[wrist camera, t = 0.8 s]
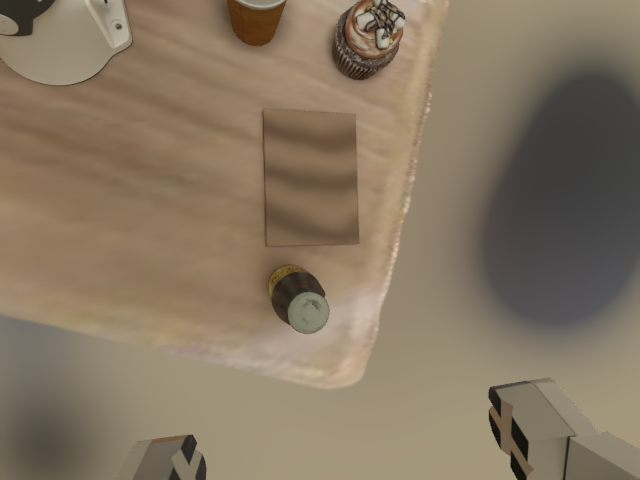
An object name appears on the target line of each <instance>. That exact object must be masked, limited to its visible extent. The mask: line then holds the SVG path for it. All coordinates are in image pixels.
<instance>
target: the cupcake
mask: <svg viewBox="0 0 640 480" xmlns="http://www.w3.org/2000/svg"><path fill="white" fill-rule="evenodd" d="M396 10H397V11H396ZM404 25H405V16H404V14H403V12H402V11H400V10H399V9H398V8H397V7H396V6H395V5H393V4H391V3H389V2H388V0H361V1H359V2H357V3H356V4H355V5H354V6H353V7H351V8H350V9H349V10H347V11H346V12H344V13H343V14H342V15H341V16H340V20H339V19H338V24H336V33H335V41H334V47H333V59H334V61H335V64H336V66H337V67H338V69H339V70H340V72H341V73H343V74H344V75H345V76H348V77H350V78H352V79H354V80H363V79H366V78H369V77H370V76H372V75H374V74H375V73H376V72H377V71H379V70H381V69H383V68H384V67H386V66H387V65H388V64H389V63H390V61H392V60H393V58H394V57H395V55H396V53H397V51H398V49H399V42H400V40H401V38H402V36H403V26H404ZM370 69H371V70H370Z"/></svg>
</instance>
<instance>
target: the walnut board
mask: <svg viewBox="0 0 640 480" xmlns="http://www.w3.org/2000/svg"><path fill="white" fill-rule="evenodd" d="M263 131H264V171H265V212H266V246H294V245H331V244H359V227H358V189H357V152H356V115H355V114H346V113H330V112H314V111H297V110H281V109H265V108H264V109H263Z"/></svg>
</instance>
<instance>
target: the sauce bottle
mask: <svg viewBox="0 0 640 480" xmlns="http://www.w3.org/2000/svg"><path fill="white" fill-rule="evenodd" d="M269 293H270V298H271V302H272V305H273V308H274V310H275V312H276V313H277V315H278V316H279V318H280V319H281V320H283V321H284V322H285V323H287V324H289V325H291V326H292V327H293V328H294V329H295V330H296V331H298V332H300V333H304V334H311V333H315V332H317V331H319V330H321V329H322V328H323V327H324V326H325V324H326V322H327V320H328V317H329V306H328V303H327V301H326V300H325V298H324V297H325V292H324V290H323V288H322V287H321V285H320V284H319V282H318V280H317V279H316V278H315V277H314V276H313V275H311V274H310V273H308V272H307V271H305V270H304V269H302V268H300V267H298V266H294V265H287V266H283V267H281V268H279V269H277V270H276V271H275V272H274V273H273V275H272V276H271V278H270V281H269Z"/></svg>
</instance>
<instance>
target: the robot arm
mask: <svg viewBox="0 0 640 480" xmlns="http://www.w3.org/2000/svg"><path fill="white" fill-rule="evenodd" d="M118 27H122V29H120V30H118V29H117V28H118ZM131 43H132V34H131V29H130V25H129V21H128V17H127V12H126V8H125V4H124V0H0V58H1V59H2V60H3V61H4V62H5V63H6V64H7V65H8V66H9V67H10V68H11V69H13V70H14V71H15V72H17V73H18V74H20V75H22V76H24V77H26V78H28V79H30V80H33V81H35V82H39V83H43V84H48V85H69V84H75V83H78V82H81V81H84V80H86V79H88V78H90V77H92V76H93V75H95V74H96V73H97V72H99V71H100V70H101V69H102V68H103V67H104V66H105V64H106V63H107V62H108V60H109V59H110V58H111V57H112V56H113V55H114V54H116V53H118V52H120V51H122V50H124V49H125V48H127V47H128V46H130V45H131ZM488 393H489V396H488V398H489V400H490V401H491V403H492V405H493V406H492V407H491V408H490V409H489V422H490V425H491V429H492V432H493V435H494V437H495V439H496V441H497V443H498V445H499V447H500V449H501V450H502V451H504V452H505V453H506V454H508V455H509V456H511V461H510V462H511V463H510V467H511V469H512V471H513V472H514V475H515V476H516V478H517V480H640V449H639V448H637V447H635V446H633V445H631V444H629V443H627V442H625V441H623V440H622V439H620V438H618V437H616V436H614V435H612V434H610V433H608V432H602V433H600V431H598V429H597V428H596V427H595V426H594V425H593V424H592V423H591V421H590V420H589V419H588V418H587V417H586V416H585V415H584V414H583V413H582V412H581V410H580V409H579V408H578V407H577V406H576V405H575V403H574V402H573V401H572V400H571V399H570V398H569V397H568V396H567V394H566V393H565V392H564V391H563V390H562V389H561V388H560V387H559V386H558V384H557V383H556V382H555V381H554V380H552V379H551V378H543V379H537V380H530V381H522V382H517V383H511V384H505V385H499V386H493V387H490V389H489V392H488ZM196 445H197V442H196V440H195V438H194V436H193V435H182V436H174V437H166V438H159V439H152V440H145V441H138V442H137V443H136V444H135V445H133V447H132V448H131V450H130V451H129V453H128V455H127V457H126V459H125V461H124V462H123V464H122V466H121V468H120V470H119V472H118V473H117V475H116V477H115V479H114V480H206V463H205V459H204V457H203V454H201V453H200V452H198V451H197V450H195V448H196Z"/></svg>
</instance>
